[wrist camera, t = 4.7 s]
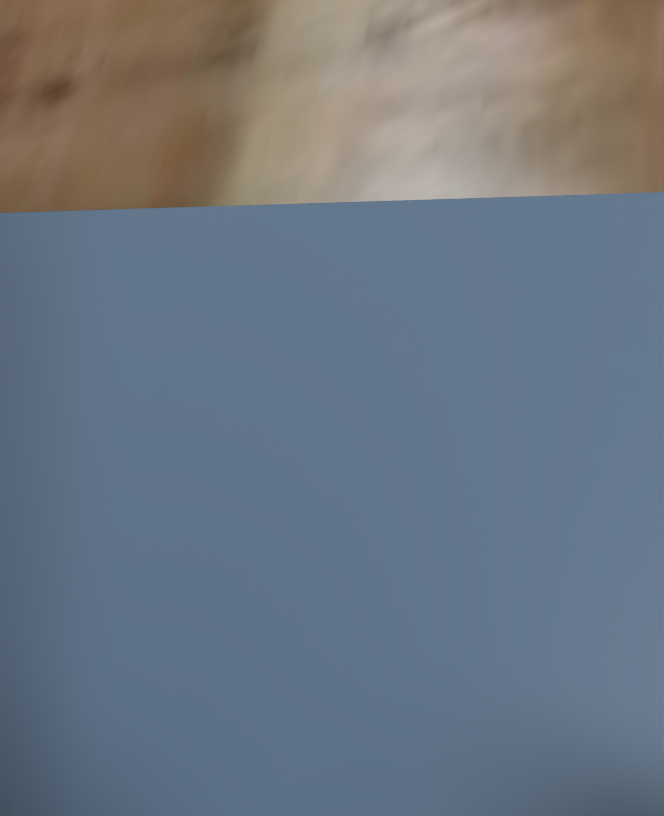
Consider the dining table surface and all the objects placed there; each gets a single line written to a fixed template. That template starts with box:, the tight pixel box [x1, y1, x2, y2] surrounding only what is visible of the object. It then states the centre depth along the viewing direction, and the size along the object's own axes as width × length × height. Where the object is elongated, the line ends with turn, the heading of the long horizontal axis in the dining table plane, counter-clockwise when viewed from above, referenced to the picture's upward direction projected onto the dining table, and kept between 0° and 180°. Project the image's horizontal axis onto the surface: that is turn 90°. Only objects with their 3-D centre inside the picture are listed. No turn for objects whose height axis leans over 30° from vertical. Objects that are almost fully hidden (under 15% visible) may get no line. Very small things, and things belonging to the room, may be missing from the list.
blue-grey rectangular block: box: [0, 192, 664, 816], centre depth 9 cm, size 7×6×12 cm
